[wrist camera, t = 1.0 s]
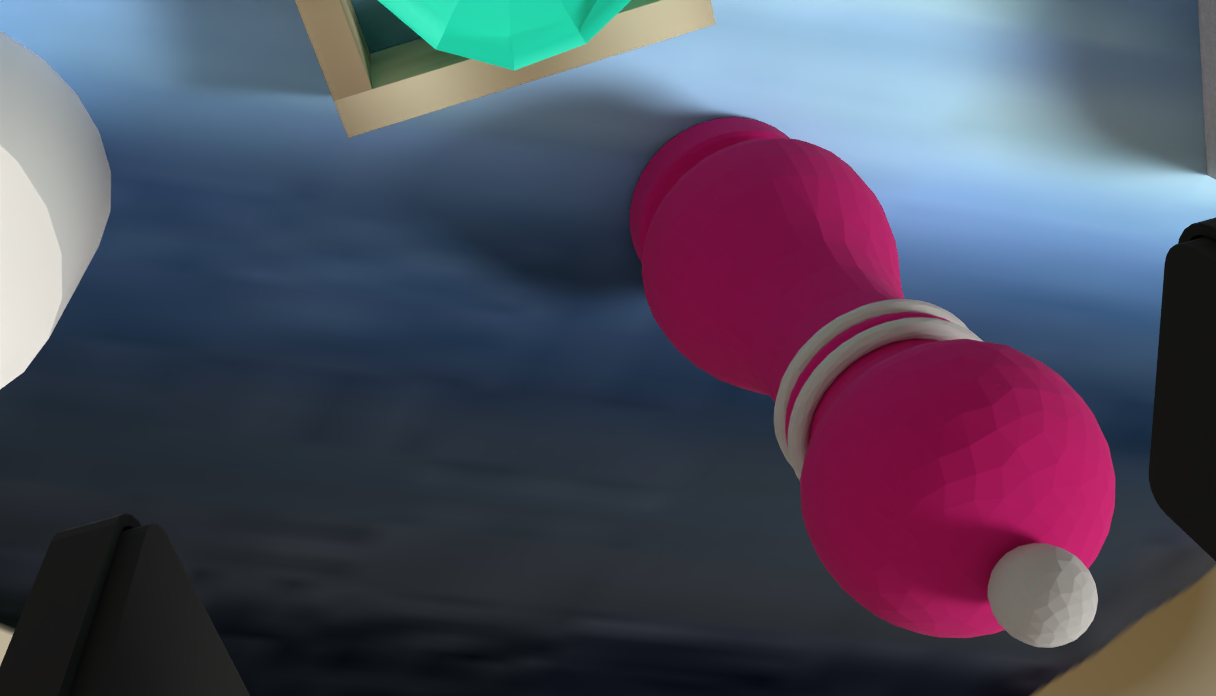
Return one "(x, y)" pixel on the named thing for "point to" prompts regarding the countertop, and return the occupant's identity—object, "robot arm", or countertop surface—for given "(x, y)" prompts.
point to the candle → (506, 26)
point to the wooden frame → (460, 60)
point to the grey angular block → (1208, 78)
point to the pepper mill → (876, 391)
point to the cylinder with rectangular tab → (43, 201)
